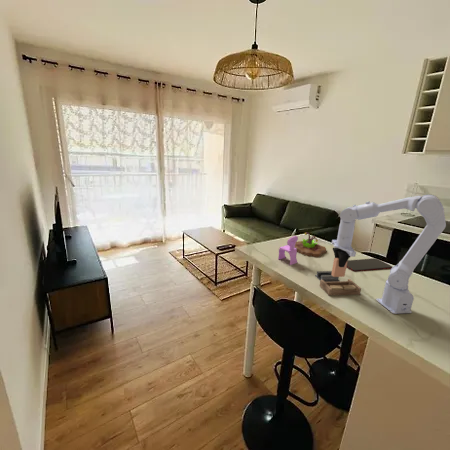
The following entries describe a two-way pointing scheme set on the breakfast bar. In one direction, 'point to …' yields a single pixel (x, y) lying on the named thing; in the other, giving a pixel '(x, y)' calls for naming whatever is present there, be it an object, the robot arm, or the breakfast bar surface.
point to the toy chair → (289, 250)
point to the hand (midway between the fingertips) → (339, 265)
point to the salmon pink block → (338, 269)
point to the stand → (326, 276)
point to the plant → (310, 247)
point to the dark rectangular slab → (367, 265)
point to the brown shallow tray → (340, 292)
